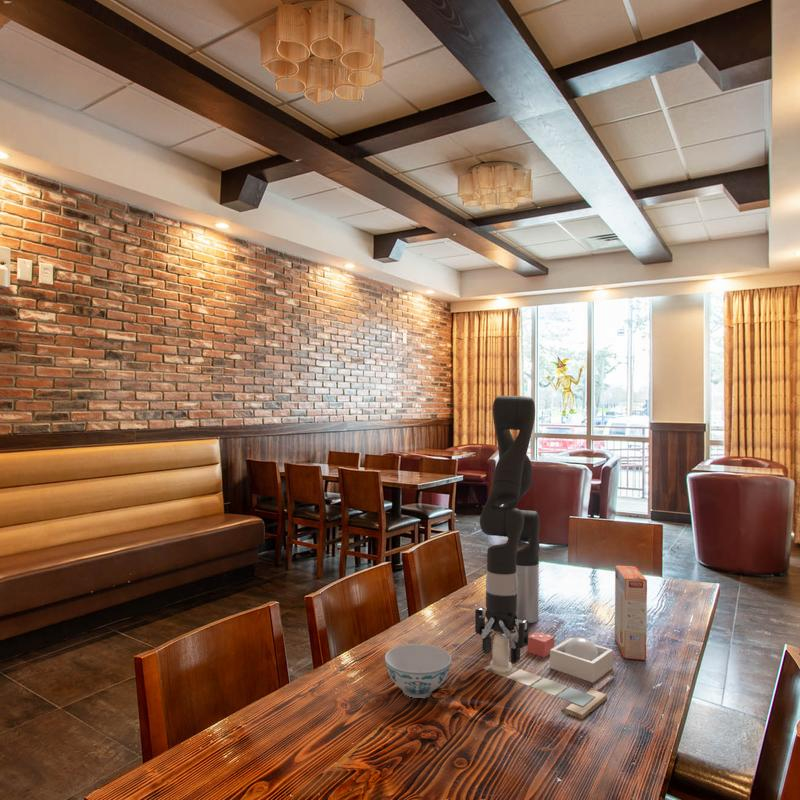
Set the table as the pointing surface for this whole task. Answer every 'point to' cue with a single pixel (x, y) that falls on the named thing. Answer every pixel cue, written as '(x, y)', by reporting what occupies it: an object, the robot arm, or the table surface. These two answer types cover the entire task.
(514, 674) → the board
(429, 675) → the chinaware
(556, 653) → the button housing
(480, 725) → the table surface
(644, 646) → the cracker box
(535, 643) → the die
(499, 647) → the pawn
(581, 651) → the dome
